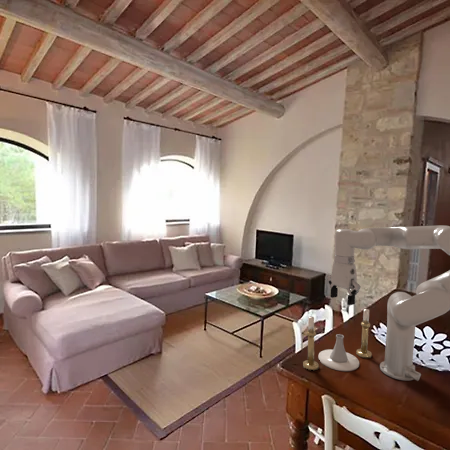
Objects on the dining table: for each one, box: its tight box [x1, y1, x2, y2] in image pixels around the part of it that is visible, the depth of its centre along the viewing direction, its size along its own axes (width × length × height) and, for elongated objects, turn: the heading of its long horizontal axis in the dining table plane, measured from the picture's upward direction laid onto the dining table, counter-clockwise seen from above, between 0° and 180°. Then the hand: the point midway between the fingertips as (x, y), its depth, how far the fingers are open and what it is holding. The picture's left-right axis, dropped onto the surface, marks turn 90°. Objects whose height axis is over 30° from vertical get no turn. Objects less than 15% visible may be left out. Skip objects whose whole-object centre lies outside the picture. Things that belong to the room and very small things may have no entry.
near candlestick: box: [302, 316, 319, 371], centre depth 126 cm, size 6×6×20 cm
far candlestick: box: [355, 308, 373, 359], centre depth 136 cm, size 6×6×20 cm
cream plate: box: [317, 348, 360, 372], centre depth 132 cm, size 16×16×1 cm
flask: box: [330, 333, 348, 363], centre depth 131 cm, size 7×7×10 cm
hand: (342, 300), depth 129 cm, fingers open, 9 cm apart
